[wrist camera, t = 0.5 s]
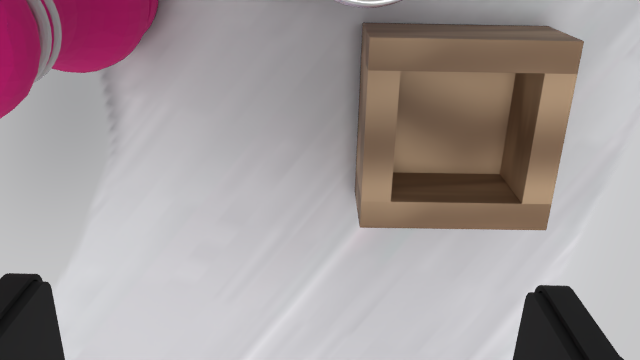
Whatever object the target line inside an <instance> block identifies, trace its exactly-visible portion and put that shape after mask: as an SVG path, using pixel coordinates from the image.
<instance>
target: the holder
mask: <svg viewBox="0 0 640 360" xmlns="http://www.w3.org/2000/svg"><path fill="white" fill-rule="evenodd" d="M583 43H584V41H582V40H580V39H577V38H575V37H572V36H570V35H568V34H565V33H563V32H561V31H558V30H556V29H553V28H551V27H549V26H510V25H455V24H400V23H363V28H362V50H361V71H360V92H359V114H358V135H357V156H356V178H355V196H356V204H357V211H358V218H359V225H360V227H363V228H433V229H502V230H546V228H547V223H548V218H549V213H550V208H551V203H552V198H553V193H554V188H555V183H556V178H557V173H558V168H559V163H560V158H561V153H562V148H563V143H564V138H565V133H566V128H567V123H568V118H569V113H570V108H571V103H572V98H573V93H574V88H575V83H576V78H577V73H578V68H579V63H580V58H581V53H582V48H583Z"/></svg>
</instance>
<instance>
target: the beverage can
mask: <svg viewBox="0 0 640 360" xmlns="http://www.w3.org/2000/svg"><path fill="white" fill-rule="evenodd" d="M334 1H337V2H339V3H342V4H345V5H349V6H353V7H362V8H374V7H382V6H387V5H390V4H394V3H397V2H399V1H402V0H334Z"/></svg>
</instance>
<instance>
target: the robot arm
mask: <svg viewBox="0 0 640 360" xmlns="http://www.w3.org/2000/svg"><path fill="white" fill-rule="evenodd" d="M0 360H65V358H64V352H63V347H62V342H61V336H60V331H59V326H58V321H57V315H56V310H55V305H54V299H53V294H52V289H51V285H50V284H49V283H48V282H43V281H42V278H41V277H40V275H38V274H13V273H12V274H11V273H9V274H5V275H4V276H3V277H2V278H1V279H0ZM513 360H624V359H623V358H622V357H620V356H619V355H618V353H617V352H616V351H615V349H614V348H613V346H612V345H611V343H610V342H609V341H608V339H607V338H606V336H605V335H604V333H603V332H602V331H601V329H600V328H599V326H598V325H597V324H596V322H595V321H594V319H593V318H592V316H591V315H590V314H589V312H588V311H587V309H586V308H585V307H584V305H583V304H582V302H581V301H580V300H579V298H578V297H577V295H576V294H575V293H574V291H573V290H572V289H571V288H570V287H569V286H549V285H540V286H538V287H537V288H536V289H535V292H534V293H533V292H530V293H528V294H527V296H526V299H525V303H524V308H523V313H522V318H521V323H520V327H519V332H518V337H517V342H516V347H515V352H514V356H513Z"/></svg>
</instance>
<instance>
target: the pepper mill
mask: <svg viewBox="0 0 640 360" xmlns="http://www.w3.org/2000/svg"><path fill="white" fill-rule="evenodd" d="M157 8H158V0H0V118H2V117H3V116H5V115H6V114H7V113H9V112H10V111H12V110H13V109H14V108H15V107H16V106H17V105H18V104H19V103H20V102H21V101H22V100H23V99H24V98H25V97H26V96H27V95H28V93H29V91H30V89H31V87H32V84H33V83H34V82H36V81H38V80H39V79H41V78H42V77H43V76H44V75H46V74H47V73H48V72H49V70H50V69H51V68H52V69H56V70H60V71H65V72H77V73H86V72H93V71H98V70H101V69H103V68H106V67H109V66H111V65H114V64H115V63H117V62H119V61H121V60H123V59H124V58H125V57H126V56H128V55H129V54H130V53H131V52H132V51H133V50H134V48H135V47H136V46H137V45H138V43H139V42H140V40H141V38H142V36H143V34H144V33H145V32H146V31H147V30H148V29H149V27H150V26H151V24H152V22H153V20H154V18H155V15H156V11H157Z"/></svg>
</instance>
